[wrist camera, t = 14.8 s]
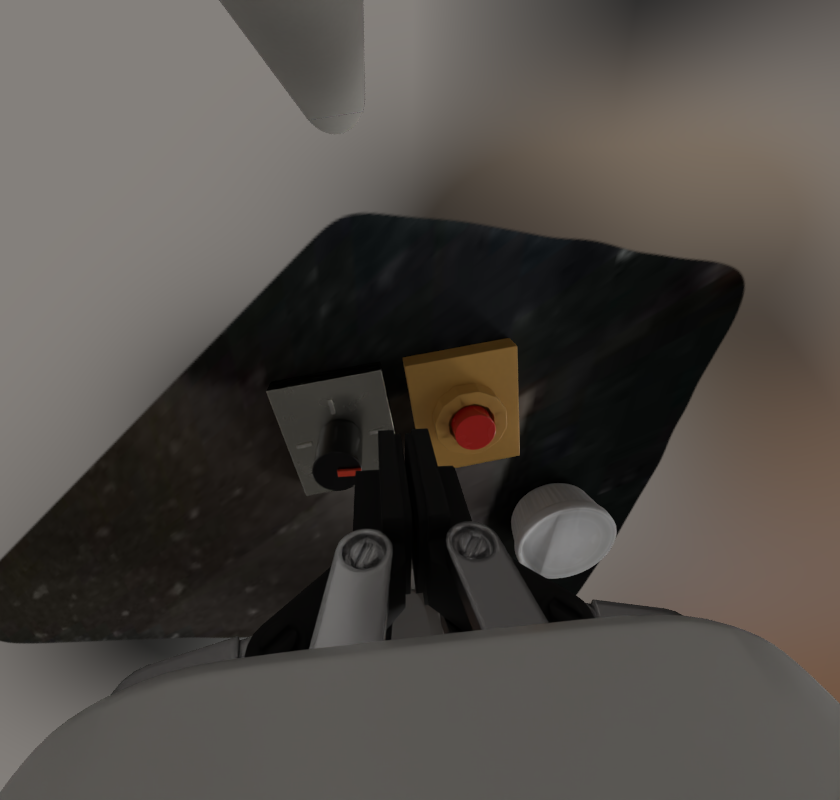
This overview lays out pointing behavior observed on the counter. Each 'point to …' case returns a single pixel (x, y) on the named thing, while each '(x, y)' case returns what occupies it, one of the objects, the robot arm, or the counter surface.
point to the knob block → (466, 397)
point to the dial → (338, 455)
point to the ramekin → (561, 531)
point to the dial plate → (331, 413)
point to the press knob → (473, 427)
